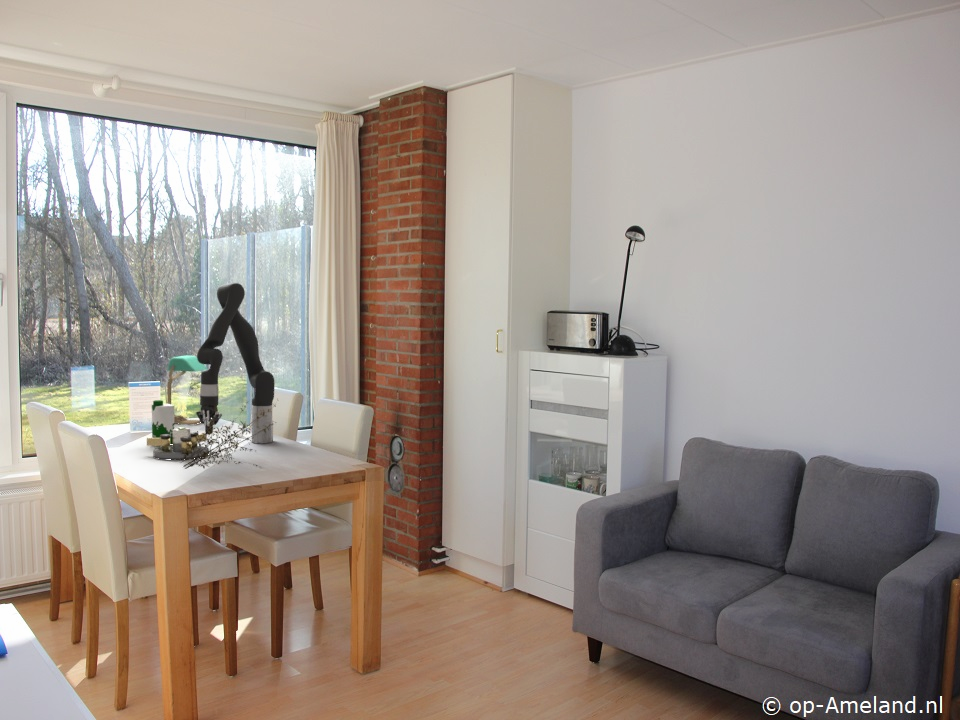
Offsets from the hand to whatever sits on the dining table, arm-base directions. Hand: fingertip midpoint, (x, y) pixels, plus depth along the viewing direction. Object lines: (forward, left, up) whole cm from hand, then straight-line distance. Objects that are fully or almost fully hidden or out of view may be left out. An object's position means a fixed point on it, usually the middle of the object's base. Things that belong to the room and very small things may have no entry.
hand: (208, 434), depth 346 cm
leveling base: (+9, +8, -8) cm, 14 cm away
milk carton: (+23, -15, -8) cm, 29 cm away
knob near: (+5, 0, -5) cm, 7 cm away
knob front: (+18, +8, -5) cm, 21 cm away
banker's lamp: (+30, -75, -8) cm, 81 cm away
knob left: (+5, +16, -5) cm, 18 cm away
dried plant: (-17, +35, -8) cm, 40 cm away
